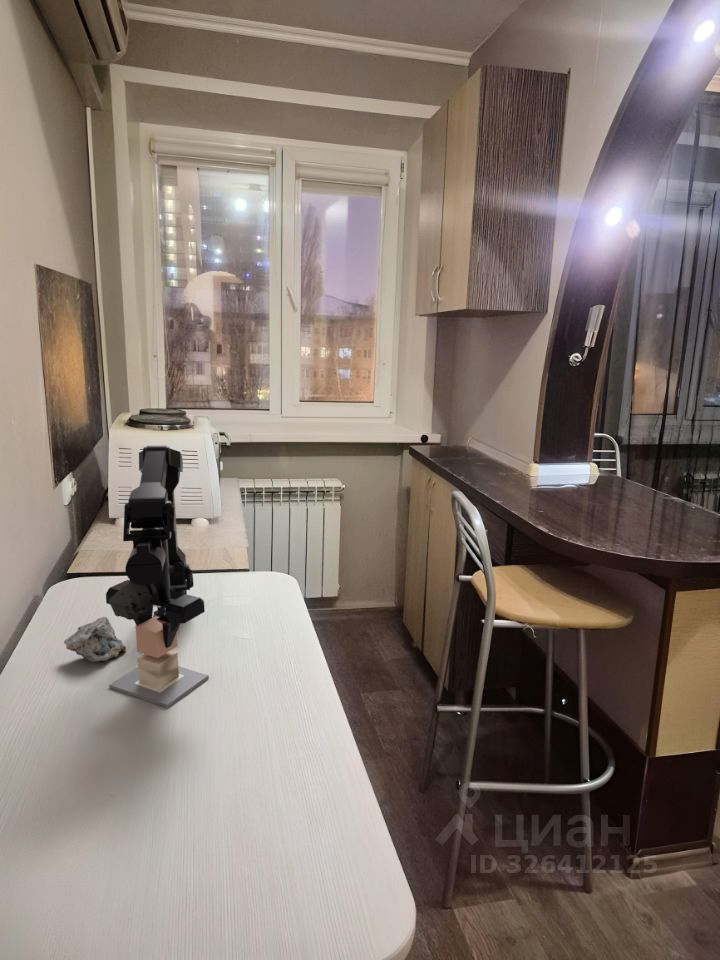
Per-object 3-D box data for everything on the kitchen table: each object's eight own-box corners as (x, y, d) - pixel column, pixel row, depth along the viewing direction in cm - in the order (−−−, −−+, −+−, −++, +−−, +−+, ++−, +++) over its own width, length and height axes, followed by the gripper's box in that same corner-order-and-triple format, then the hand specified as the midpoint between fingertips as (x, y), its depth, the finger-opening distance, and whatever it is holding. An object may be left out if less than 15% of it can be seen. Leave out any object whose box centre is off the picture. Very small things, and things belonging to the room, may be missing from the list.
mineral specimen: (105, 684, 127) (97, 650, 134) (135, 656, 127) (126, 624, 134) (66, 666, 120) (61, 631, 128) (98, 637, 120) (91, 604, 128)
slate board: (152, 660, 126) (152, 657, 126) (208, 678, 120) (208, 674, 120) (109, 687, 116) (109, 684, 116) (167, 707, 110) (167, 704, 110)
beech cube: (158, 669, 121) (157, 646, 120) (178, 676, 119) (177, 652, 118) (139, 682, 117) (137, 657, 116) (159, 689, 115) (158, 664, 113)
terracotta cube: (157, 640, 120) (155, 615, 119) (177, 646, 118) (175, 621, 116) (137, 651, 115) (135, 626, 114) (158, 658, 113) (156, 632, 112)
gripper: (77, 569, 110) (85, 651, 113) (159, 589, 102) (164, 676, 105) (126, 550, 119) (132, 626, 123) (204, 567, 111) (208, 648, 115)
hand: (157, 643), depth 116 cm, fingers closed on terracotta cube, 5 cm apart
